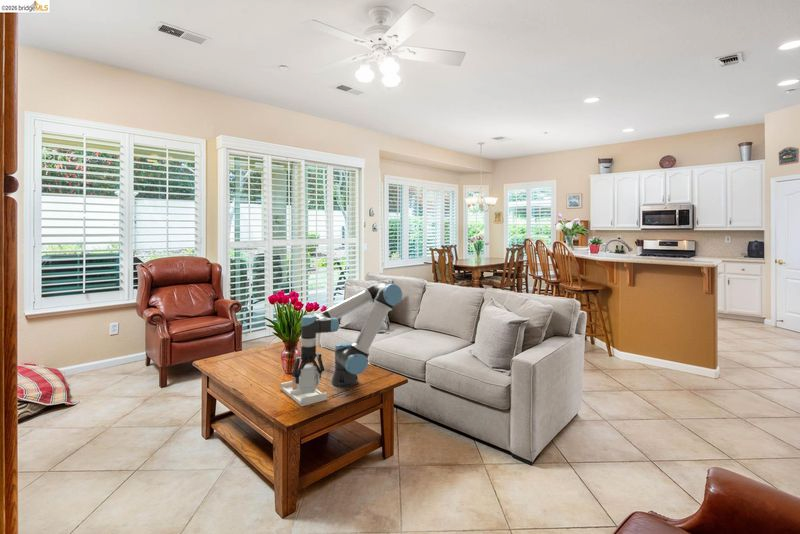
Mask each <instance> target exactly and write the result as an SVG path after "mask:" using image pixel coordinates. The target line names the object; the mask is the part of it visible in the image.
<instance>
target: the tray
mask: <svg viewBox="0 0 800 534" xmlns="http://www.w3.org/2000/svg"><path fill="white" fill-rule="evenodd" d="M291 376H292V375H291ZM299 377H300V376H299ZM291 378H292V379H291V380H290V381H286V382H281V383H280V390H281V391H282V392H283V393H285V394H286V395H287V396H288V397H289V398H290V399H292V400H293V401H294V402H296V403H297V404H298V405H300V406H301V407H304V406H308V405H312V404H315V403H319V402H322V401H327V400H328V393H327V392H321V391H320V390H319V389H318V388H316V390H315V392H314V393H300V390H298V389H297V384H296V378H295V377H293V376H292V377H291Z"/></svg>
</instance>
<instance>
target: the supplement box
mask: <svg viewBox="0 0 800 534" xmlns="http://www.w3.org/2000/svg"><path fill="white" fill-rule="evenodd" d="M300 377H301V390H300V393H314V392H315V390H316V389H318V385H317V368H316V366H314V365H313V364H306V365H305V366H304V368H303V369H301V374H300Z"/></svg>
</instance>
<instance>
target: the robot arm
mask: <svg viewBox="0 0 800 534" xmlns="http://www.w3.org/2000/svg"><path fill="white" fill-rule="evenodd" d="M402 298H403V291H402V288H401V287H400V286H399V285H398V284H395V283H393V282H387V281H385V280H380V281H378V282H375V283H373V284H371V285H369V286H367V287H365V288H364V289H363V291H362V292H359V293H357V294H355V295H353V296H351V297H350V298H347V299H345V300H343V301H341V302H340V303H337V304H336V305H334V306H333V305H332V307H330V308H327V309H326V310H324V311H321V312H320V311H318V312H315V313H314V314H305V315H303V316H302V317H301V321H300V330H301V332H300V334H301V335H300V345H301V346H300V356H296V357H294V359H295V360H294V365H293V368H292V369H293V370H292V373H291V376H293V377H295V378H296V384H297V389H298V390H301V377H299V376H300V374H301V369H303V368H304V366H305V365H309V364H312V365H314V366H316V368H317V387H318V386H320V379H321V378H322V374H323V372H324V371H325V368H324V363H323V359H322V354H321V353H320V352H318V353H317V346H316V345H317V334H323V333H324V334H325V333H333V332H334V333H335V332H337V331H338V330H339V328H340V323H339V319H340V318H342V317H345V316H346V315H348V314H350V313H353V312H354V311H356V310H358V309H359V308H361V307H364V306H366V305H368V304H369V303H370V304H373V303H374V305H373V307H372V309H371V311H370V313H369V315H368V317H367V318H366V320H365V322H364V324H363V327H362V328H361V331H360V333H359V334H358V336H357V337H356V340H355V341H354V342H339V343H337V344H336V345H335V346H334V371H333V374H332V378H331V384H332V385H333V386H335V387H338V386H339V388H347V387H353V386H355V384H356V385H357V384H358V382H359V379H358V378H359V376H358V375H359V374H362V373H363V372H364V371H366V370H367V367H368V365H369V364H368V363H369V361H368V358H369V356H370V347H371V346H372V344H373V342H374V340H375V339H376V336H377V334H378V333H379V331H380V328H381V326H382V324H383V322H384V320H385V318H386V317H387V315H388V313H389V312H391V311H393V310H394V307H395V306H396V305H398V304H400V303H401V301H402ZM316 358H317V359H316ZM316 360H317V361H316Z"/></svg>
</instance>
